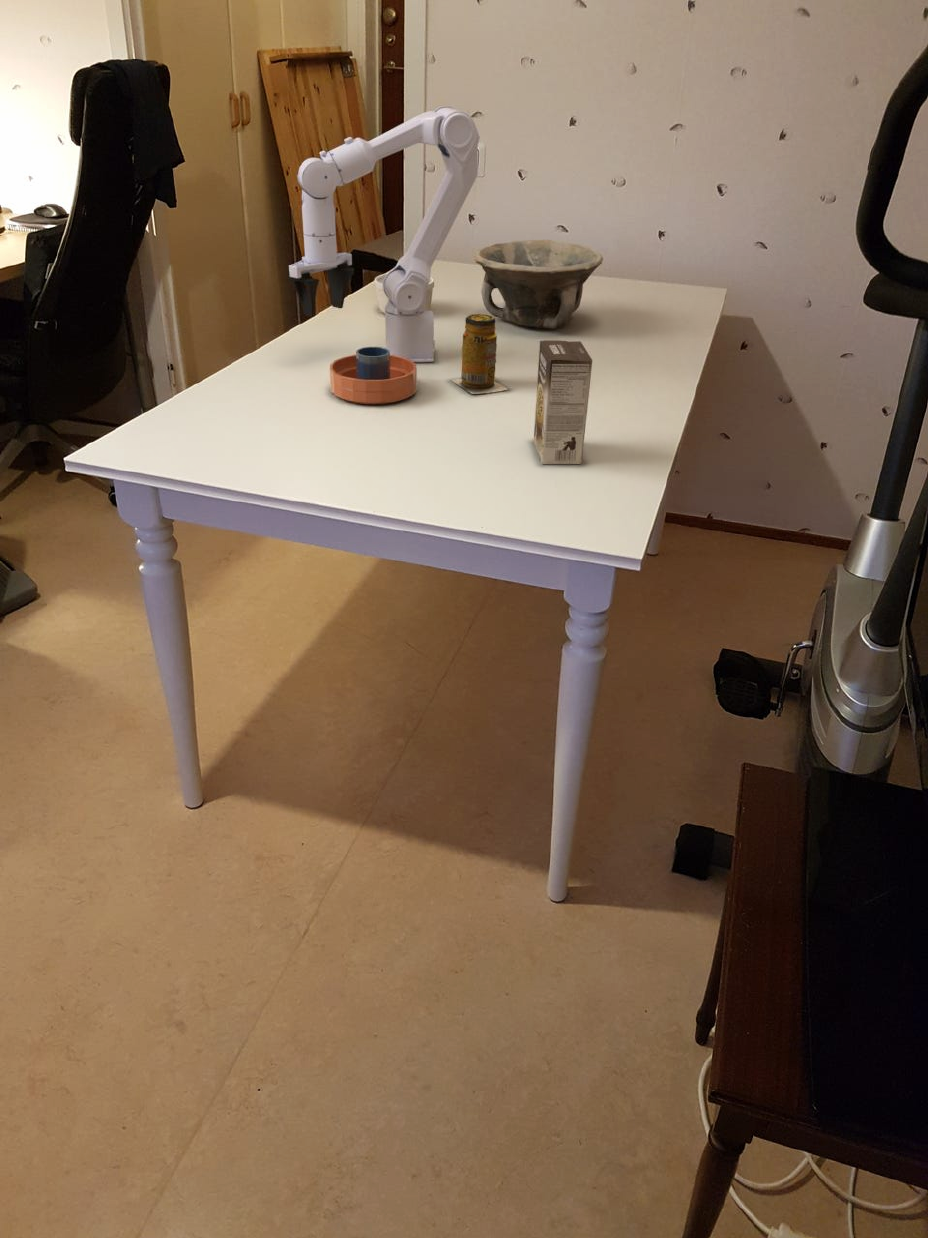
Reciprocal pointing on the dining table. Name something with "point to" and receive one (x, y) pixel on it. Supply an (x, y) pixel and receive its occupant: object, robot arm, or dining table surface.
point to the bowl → (536, 280)
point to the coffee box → (561, 401)
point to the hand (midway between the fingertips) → (323, 311)
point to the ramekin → (384, 299)
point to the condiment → (479, 355)
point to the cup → (373, 363)
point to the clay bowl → (373, 381)
